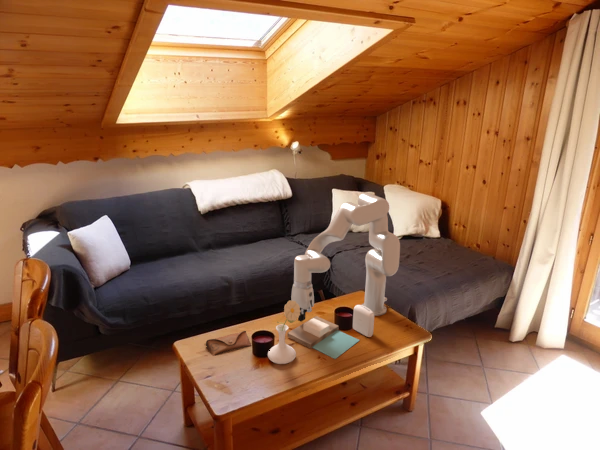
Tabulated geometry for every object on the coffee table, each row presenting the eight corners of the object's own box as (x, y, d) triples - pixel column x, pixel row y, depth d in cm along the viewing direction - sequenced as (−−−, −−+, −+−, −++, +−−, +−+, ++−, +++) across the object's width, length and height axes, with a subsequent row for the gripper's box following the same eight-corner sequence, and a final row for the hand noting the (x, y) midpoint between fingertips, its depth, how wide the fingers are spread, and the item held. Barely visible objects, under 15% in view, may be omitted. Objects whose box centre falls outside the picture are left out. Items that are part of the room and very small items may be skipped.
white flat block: (313, 323, 186) (313, 318, 185) (329, 331, 180) (329, 325, 179) (303, 329, 180) (303, 323, 180) (319, 337, 175) (319, 331, 174)
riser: (316, 319, 193) (316, 315, 192) (338, 329, 185) (338, 325, 184) (287, 336, 178) (287, 332, 178) (310, 348, 170) (310, 344, 170)
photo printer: (350, 328, 186) (352, 304, 183) (357, 325, 189) (359, 301, 185) (368, 338, 179) (369, 313, 175) (374, 335, 181) (376, 310, 178)
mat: (337, 330, 184) (337, 329, 184) (359, 340, 177) (359, 340, 177) (311, 347, 171) (312, 346, 171) (335, 359, 164) (335, 358, 164)
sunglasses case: (211, 356, 164) (208, 340, 165) (207, 356, 170) (204, 340, 171) (253, 345, 172) (250, 329, 173) (248, 345, 178) (245, 330, 179)
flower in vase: (272, 369, 157) (272, 311, 149) (264, 353, 167) (263, 297, 160) (304, 362, 161) (305, 305, 154) (293, 346, 172) (294, 292, 164)
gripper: (321, 285, 178) (319, 322, 183) (295, 275, 187) (294, 311, 192) (310, 291, 172) (309, 329, 178) (284, 280, 182) (283, 317, 187)
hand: (301, 320), depth 185 cm, fingers closed
